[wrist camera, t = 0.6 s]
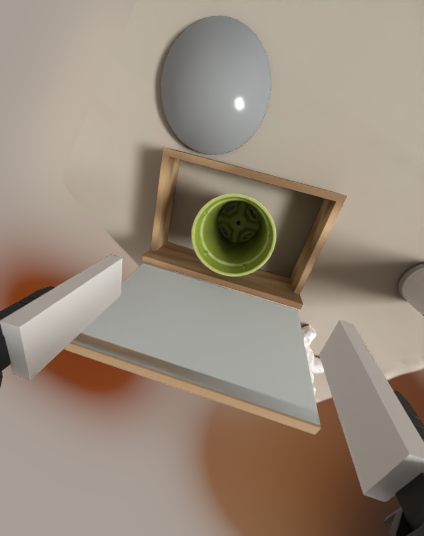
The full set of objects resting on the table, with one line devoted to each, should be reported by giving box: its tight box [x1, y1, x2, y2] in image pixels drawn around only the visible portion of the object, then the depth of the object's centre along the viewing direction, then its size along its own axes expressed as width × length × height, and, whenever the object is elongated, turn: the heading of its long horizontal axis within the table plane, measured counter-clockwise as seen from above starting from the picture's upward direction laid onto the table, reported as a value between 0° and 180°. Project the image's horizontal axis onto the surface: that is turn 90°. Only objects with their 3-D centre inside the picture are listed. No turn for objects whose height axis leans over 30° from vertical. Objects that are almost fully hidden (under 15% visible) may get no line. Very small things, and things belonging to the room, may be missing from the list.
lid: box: [65, 263, 321, 434], centre depth 24 cm, size 14×21×1 cm
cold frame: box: [142, 147, 347, 309], centre depth 30 cm, size 14×22×7 cm, turn 76°
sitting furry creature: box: [301, 325, 324, 396], centre depth 35 cm, size 10×9×12 cm
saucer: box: [161, 16, 271, 155], centre depth 27 cm, size 13×13×1 cm
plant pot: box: [191, 193, 276, 276], centre depth 29 cm, size 9×9×9 cm
